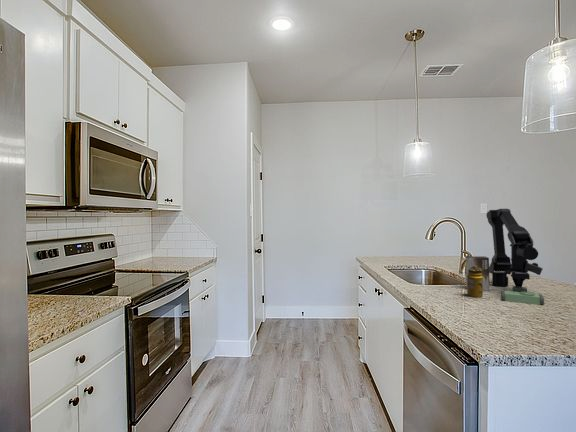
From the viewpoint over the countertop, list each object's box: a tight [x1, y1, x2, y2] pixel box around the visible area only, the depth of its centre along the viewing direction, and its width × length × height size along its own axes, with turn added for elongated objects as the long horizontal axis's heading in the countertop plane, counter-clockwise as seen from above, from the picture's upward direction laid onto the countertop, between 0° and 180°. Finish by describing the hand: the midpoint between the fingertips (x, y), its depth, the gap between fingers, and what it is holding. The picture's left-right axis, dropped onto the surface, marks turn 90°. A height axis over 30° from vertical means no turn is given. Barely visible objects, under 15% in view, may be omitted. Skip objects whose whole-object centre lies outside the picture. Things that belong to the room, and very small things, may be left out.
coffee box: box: [465, 255, 491, 292], centre depth 162 cm, size 9×6×16 cm
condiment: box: [459, 269, 487, 299], centre depth 149 cm, size 7×8×12 cm
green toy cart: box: [500, 289, 545, 306], centre depth 142 cm, size 14×12×4 cm
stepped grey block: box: [511, 285, 528, 292], centre depth 147 cm, size 5×6×4 cm
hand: (519, 291), depth 150 cm, fingers closed
